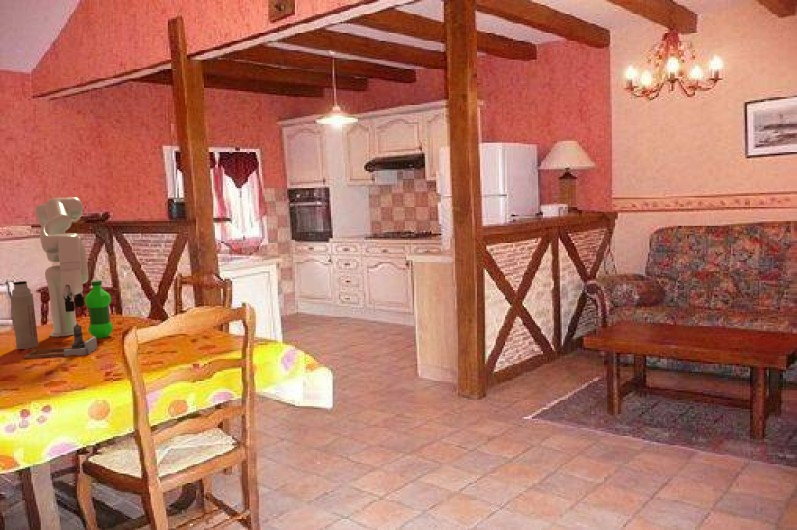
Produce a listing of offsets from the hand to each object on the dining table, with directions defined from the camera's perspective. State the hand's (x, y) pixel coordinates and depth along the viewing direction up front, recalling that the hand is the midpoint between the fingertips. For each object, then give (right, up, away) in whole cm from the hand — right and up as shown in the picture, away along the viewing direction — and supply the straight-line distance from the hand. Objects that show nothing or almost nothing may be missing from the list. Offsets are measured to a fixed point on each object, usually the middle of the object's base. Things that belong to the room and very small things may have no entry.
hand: (75, 309), depth 260 cm
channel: (-10, -18, +1) cm, 21 cm away
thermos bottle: (-27, -17, +15) cm, 36 cm away
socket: (+1, -18, +2) cm, 18 cm away
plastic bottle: (-3, -15, +30) cm, 33 cm away
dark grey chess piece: (+1, -18, +2) cm, 18 cm away
